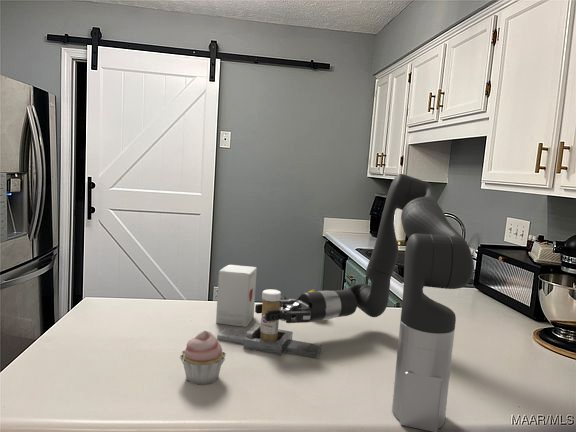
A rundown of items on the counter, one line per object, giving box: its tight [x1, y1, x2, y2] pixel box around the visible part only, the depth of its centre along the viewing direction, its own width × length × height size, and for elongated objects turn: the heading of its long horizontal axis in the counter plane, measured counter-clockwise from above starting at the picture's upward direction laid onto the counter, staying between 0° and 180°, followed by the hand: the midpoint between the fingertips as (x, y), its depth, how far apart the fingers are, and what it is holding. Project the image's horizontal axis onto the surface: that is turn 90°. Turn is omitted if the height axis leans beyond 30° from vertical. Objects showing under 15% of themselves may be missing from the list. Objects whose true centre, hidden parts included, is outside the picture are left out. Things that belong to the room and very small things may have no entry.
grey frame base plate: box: [216, 323, 322, 359], centre depth 102 cm, size 10×26×3 cm, turn 74°
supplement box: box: [215, 264, 258, 328], centre depth 117 cm, size 9×9×15 cm
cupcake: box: [179, 330, 227, 385], centre depth 84 cm, size 9×9×10 cm
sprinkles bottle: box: [260, 289, 282, 342], centre depth 102 cm, size 5×5×14 cm
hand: (260, 312), depth 100 cm, fingers open, 5 cm apart
